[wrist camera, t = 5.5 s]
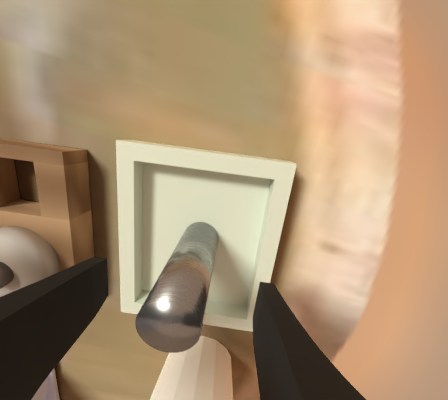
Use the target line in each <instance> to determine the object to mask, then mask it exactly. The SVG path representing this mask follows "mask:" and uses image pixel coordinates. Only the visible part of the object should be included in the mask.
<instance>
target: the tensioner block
mask: <svg viewBox="0 0 448 400" xmlns="http://www.w3.org/2000/svg"><path fill="white" fill-rule="evenodd" d="M14 159H17V160H24V161H32V162H33V163H34V170H35V177H36V184H37V190H38V197H39V202H33V201H26V200H21V198H20V192H19V186H18V181H17V175H16V169H15V163H14ZM93 257H95V256H94V242H93V227H92V213H91V199H90V185H89V170H88V156H87V150H86V149H78V148H71V147H63V146H56V145H48V144H41V143H33V142H26V141H18V140H11V139H3V138H0V297H1V296H4V295H6V294H8V293H11V292H13V291H16V290H18V289H21V288H23V287H25V286H28V285H30V284H33V283H35V282H37V281H40V280H42V279H44V278H47V277H49V276H51V275H53V274H56V273H58V272H60V271H62V270H65V269H67V268H69V267H71V266H74V265H76V264H78V263H80V262H83V261H85V260H88V259H90V258H93Z"/></svg>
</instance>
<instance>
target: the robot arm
mask: <svg viewBox="0 0 448 400" xmlns="http://www.w3.org/2000/svg"><path fill="white" fill-rule="evenodd" d="M107 296H108V277H107V259H103V258H96V257H93V258H90V259H88V260H85V261H83V262H80V263H78V264H76V265H74V266H71V267H69V268H67V269H65V270H62V271H60V272H58V273H56V274H53V275H51V276H49V277H47V278H44V279H42V280H40V281H37V282H35V283H33V284H30V285H28V286H25V287H23V288H21V289H18V290H16V291H13V292H11V293H8V294H6V295H4V296H1V297H0V400H60V398H59V392H58V386H57V380H56V374H55V366H56V365H57V364H58V363H59V361H60V360H61V359H62V358H63V356H64V355H65V354H66V353H67V351H68V350H69V349H70V348H71V346H72V345H73V344H74V343H75V341H76V340H77V339H78V338H79V336H80V335H81V334H82V333H83V331H84V330H85V329H86V327H87V326H88V325H89V324H90V322H91V321H92V320H93V318H94V317H95V316H96V314H97V313H98V311H99V309H100V308H101V306H102V305H103V303H104V301H105V300H106V298H107ZM253 344H254V352H255V360H256V368H257V376H258V384H259V391H260V399H261V400H366V399H365V398H364V397H363V396H362V395H361V394H360V393H359V392H358V391H357V390H356V389H355V388H354V387H353V386H352V385H351V384H350V383H349V382H348V381H347V380H346V379H345V378H344V377H343V375H342V374H341V373H340V372H339V371H338V370H337V369H336V368H335V366H334V365H333V364H332V363H331V362H330V361H329V360H328V358H327V357H326V356H325V355H324V354H323V352H322V351H321V350H320V349H319V348H318V346H317V345H316V344H315V343H314V341H313V340H312V339H311V337H310V336H309V335H308V333H307V332H306V331H305V329H304V328H303V327H302V325H301V324H300V323H299V321H298V320H297V318H296V317H295V315H294V314H293V313H292V311H291V310H290V308H289V307H288V305H287V304H286V302H285V301H284V299H283V298H282V296H281V294H280V293H279V291H278V290H277V288H276V287H275V285H274V284H273V283H266V282H260V284H259V289H258V294H257V298H256V303H255V308H254V313H253Z"/></svg>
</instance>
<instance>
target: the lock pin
mask: <svg viewBox="0 0 448 400" xmlns="http://www.w3.org/2000/svg"><path fill="white" fill-rule="evenodd" d="M218 239H219V238H218V233H217V231H216V230H215V228H214V227H213V226H211V225H210V224H208V223H205V222H195V223H193V224H191V225H189V226H188V227H187V228H186V230H185V232H184V233H183V235H182V237H181V239H180V240H179V242H178V244H177V246H176V248H175V249H174V251H173V253H172V255H171V256H170V258H169V260H168V262H167V263H166V265H165V267H164V269H163V270H162V272H161V274H160V276H159V277H158V279H157V281H156V283H155V284H154V286H153V288H152V290H151V291H150V293H149V295H148V297H147V298H146V300H145V302H144V304H143V305H142V307H141V309H140V311H139V312H138V314H137V317H136V329H137V332H138V334H139V335H140V337H141V338H142V340H143V341H144V342H145V343H147V344H148V345H149V346H151V347H153V348H155V349H157V350H159V351H163V352H169V353H178V352H183V351H186V350H188V349H190V348H192V347H193V346H194V345H195V344H196V343H197V342H198V340H199V338H200V335H201V330H202V325H203V319H204V314H205V309H206V303H207V298H208V293H209V288H210V282H211V277H212V272H213V267H214V261H215V256H216V251H217V245H218Z"/></svg>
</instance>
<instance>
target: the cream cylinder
mask: <svg viewBox="0 0 448 400" xmlns="http://www.w3.org/2000/svg"><path fill="white" fill-rule="evenodd" d="M150 400H233V386H232V368H231V356H230V354H229V352H228V351H227V349H226V347H224V346H223V345H222V344H220V343H219V342H218V341H217V340H214V339H211V338H208V337H205V336H200V338H199V340H198V342H197V343H196V344H195V345H194V346H193V347H192V348H190V349H188V350H186V351H183V352H178V353H169V355H168V357H167V359H166V362H165V364H164V367H163V369H162V371H161V374H160V376H159V379H158V381H157V383H156V386H155V388H154V391H153V393H152V396H151V398H150Z"/></svg>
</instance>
